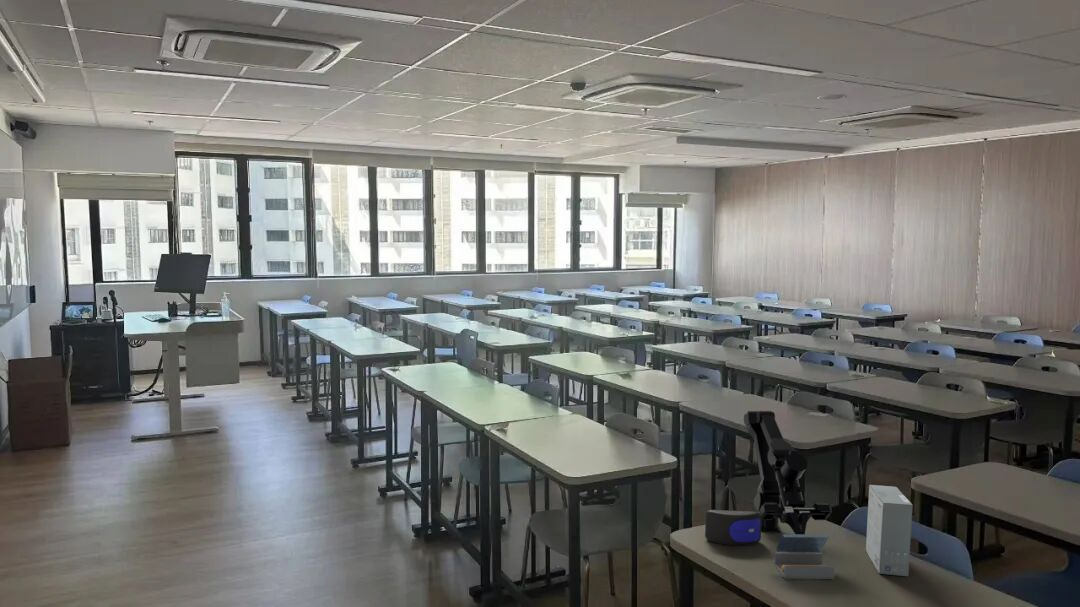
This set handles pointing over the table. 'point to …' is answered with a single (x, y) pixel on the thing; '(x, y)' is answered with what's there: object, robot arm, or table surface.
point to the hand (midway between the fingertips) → (802, 541)
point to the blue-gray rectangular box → (801, 543)
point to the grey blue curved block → (733, 527)
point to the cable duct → (802, 566)
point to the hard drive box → (889, 530)
